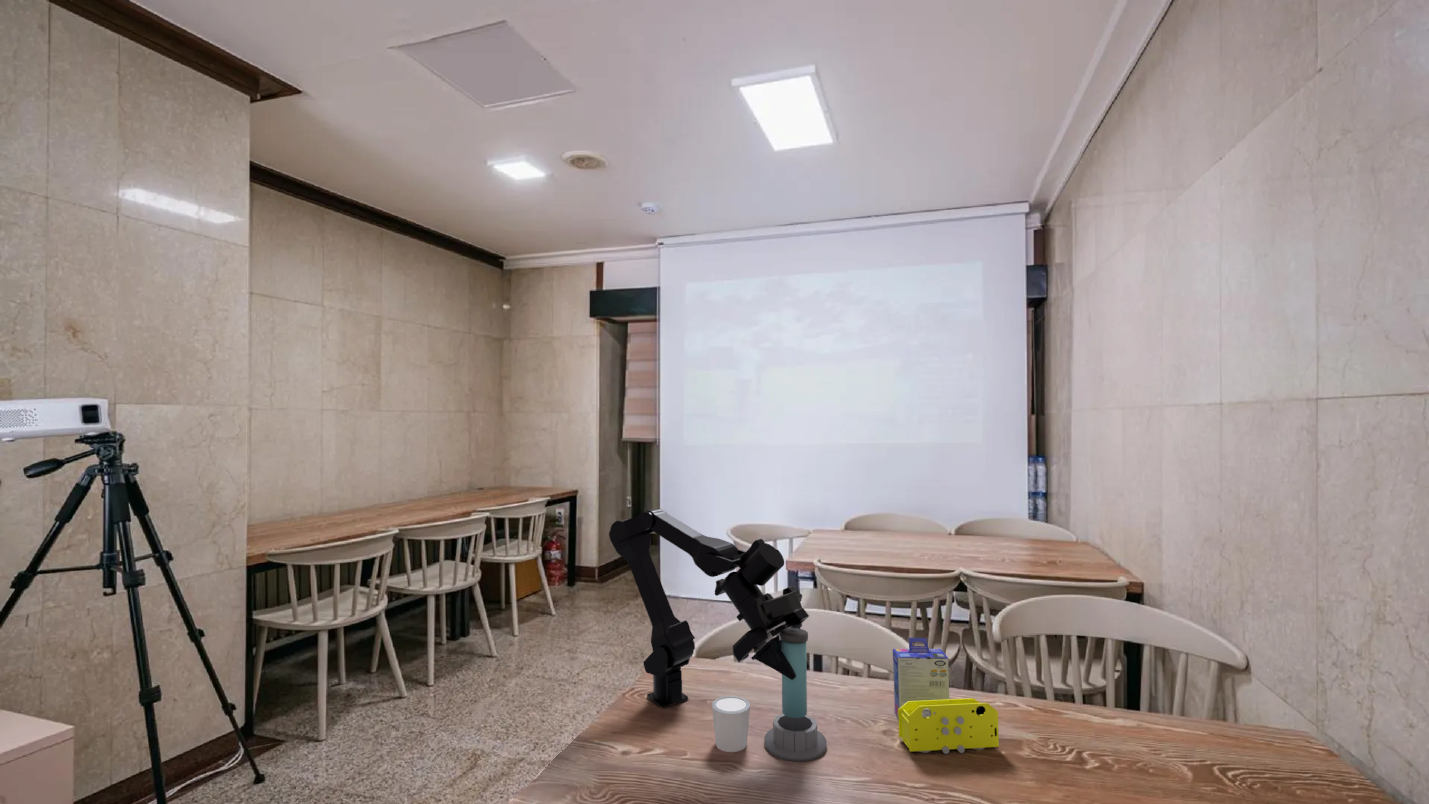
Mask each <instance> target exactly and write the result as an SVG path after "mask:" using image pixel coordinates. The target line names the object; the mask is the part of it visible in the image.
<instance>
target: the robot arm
mask: <svg viewBox="0 0 1429 804" xmlns="http://www.w3.org/2000/svg"><path fill="white" fill-rule="evenodd" d="M652 533H655V534H656V535H658V536H660V537H661V538H663V539H664V540H666V541H668V542H669V543H671V544H673V545H674V546H675V547H677V549H678V548H679V549H681V551H684V552H685V553H687V554H688V556H689V557H691V558H692V560H693V563H694V565H695V566H696V567H697V568H699V569H700V570H701V572H703V573H704V574H705V575H706V576H708V577H711V578H714V577H718V576H721V575H724V574H727V573H728V574H727V575H726V576H725V577H724V578H720V579H717V580H716V581H715V589H714V595H715V596H717V597H718V596H719V595H722V594H726V596H727V598H728V599H729V600H730V601H731V603H732V604H733V606H734V607H735V609H736V610H737V612H738V614H737V615H736V618H737V620H738V621H739V622H741V621H743V620H744V622H745V623H746V625H747V627H748V628H749V629H750V630H748V631H746V633H744V634H743V635H742V636H741V637H740V638H739V639H738V640H736V642H735V643H734V644H733V645H732V655H733V656H734V657H735V659H736V660H737V662H738V663H740V662H742V661H745V659H746V660H747V658H749V656H750V653H751V652H752V651H753V652H754V655H752V656H751V658H750V659H751V660H752V661H754V660H755V661H758V662H760V663H762V664H763V665H765V666H768V667H769V668H771V669H773V670H774V671H776V672H778V673H780V674H781V675H782V674H783V675H784V676H786V677H788V678H789V679H791V680H793V679H794V678H796V674H795V672H794V670H793V668H792V667H791V665H790V663H789V662H788V660H787V659H786V657H785V655H784V654H783V652H782V640H781V639H780V631H781V630H783V629H787V628H798V629H802V627H803V623H804V621H806V620H808V618H809V617H810V615H809V614H808V612H807V610H805V608H804V607H803V606H802V604H801V603H802V599H803V594H802V593H800V591H799V589H797V588H796V587H795V586H794V585H791V586H788V587H785V588H784V589H782V594H781V595H779V596H777V597H773V596H772V594H771V593H769V592H766V593H763V592H762V590H761V589H760V587H761V586H762V587H764V586H765V585H766V584H767V583H768V582H769V581H770V580H771V579H773V577H774V576H775V575H777V573H778V572H779V571H780V570H781V569H782V568H783V567H784V565H785V559H784V556H783V555H782V553H781V551H779V549H776V547H774V546H773V545H771V544H769V543H767V542H765V541H764V539H763V538H758V539H755V540H754V541H753V542H752V543H751V545H750V547H749V548H748V549H747V550H746V551H745V550H743V549H742V550H741V549H739V548H738V547H737V546H736V545H735V544H734V543H732V542H730V541H727V540H724V539H722V538H717V537H711V536H706V535H704V534H702V533H701V532H699V531H697V530H695V529H693V528H692V527H690V526H689V525H687V524H686V523H684V522H682V521H680V520H678V518H675V517H673V516H672V515H670V514H669V513H667V512H666V510H665V509H662V508H654V509H649V510H646V511H644V512H642V513H640V514H639V515H635V516H634V517H630V518H626V519H621V520H615V521H614V522H613V523H612V524H611V527H610V529H609V532H608V536H609V540H610V542H611V543H612V546H613V547H614V550H615V552H616V553H617V554H618V555H619V556H621V558H623V559H624V560H625V561H626V562H627V564H628V566H629V569H630V571H631V573H632V576H633V579H634V581H635V584H636V586H637V590H638V592H639V595H640V598H641V599H642V602H643V604H644V608H645V610H646V613H647V615H648V618H649V620H650V623H651V627H652V628H651V636H650V646H651V647H652V652H651V653H650V654H649V656H647V657H646V659H645V660H644V661H643V667H644V671H645V673H647V674H649V675H652V679H653V680H652V681H653V683H652V684H653V685H652V687H653V689H652V692H649V693H647V694H646V697H647V698H648V699H649V700H651V701H652V702H653V703H654V704H656V705H657V706H658V707H659V708H666V707H671V706H672V705H676V704H677V703H681V702H685V701H688V700H689V696H688V695H686V694H685V693H683V680H682V679H683V677H682V675H683V674H682V672H683V671H682V668H683V667H684V666H687V665H690V664H689V663H690V659H691V658H692V657H693V654H694V652H695V651H694V650H695V649H696V646H695V645H696V644H695V641H694V640H695V638H696V637H695V636H694V634H693V633H692V630H691V627H690V624H689V622H688V620H686V619H685V620H682V621H681V620H679V619H678V618H677V616H675V614H674V612H673V610H672V609H673V608H672V607H671V605H670V602H669V600H668V597H667V594H666V591H665V589H664V587H663V584H662V581H661V579H660V577H659V574H658V571H657V569H656V567H655V564H654V562H653V561H654V560H653V559H652V557H651V553H650V550H651V541H652V539H651V535H650V534H652ZM737 568H739V569H737ZM736 569H737V570H736ZM735 570H736V571H735ZM809 669H810V665H809V662H808V661H807V670H809Z"/></svg>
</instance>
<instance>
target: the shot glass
mask: <svg viewBox="0 0 1429 804" xmlns="http://www.w3.org/2000/svg"><path fill="white" fill-rule="evenodd" d="M750 703H751V702H749V701H748V700H747V699H745V698H743V697H741V696H735V695H734V696H733V695H732V696H731V695H726V696H721V697H718V698H716V699H714V701H712V703H711V709H712V719H713V727H714V729H713V730H714V739H715V740H714V741H715V746H716V747H717V749H718V750H720V751H723V752H727V753H736V752H741V751H742V750H744V749H745V748H746V747H747V746H748V735H749V734H748V733H749V723H750V722H749V720H750V709H751V704H750Z"/></svg>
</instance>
